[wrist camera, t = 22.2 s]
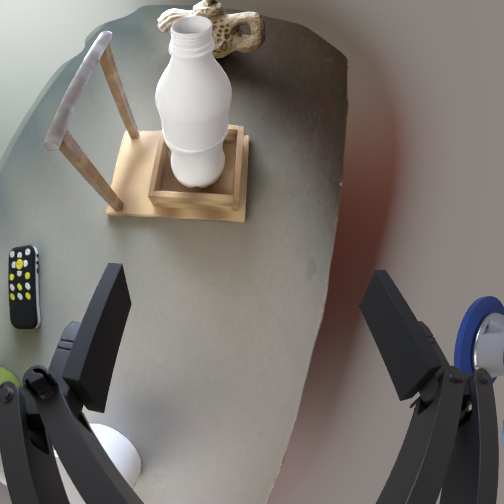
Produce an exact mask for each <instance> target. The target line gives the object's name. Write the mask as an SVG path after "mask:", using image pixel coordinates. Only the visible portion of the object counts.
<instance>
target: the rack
mask: <svg viewBox="0 0 504 504" xmlns="http://www.w3.org/2000/svg"><path fill="white" fill-rule="evenodd" d="M112 37H113V35H112V33H111V32H109V31H104V32H102V33H101V34H100V35H99V37H98V38H97V40H96V41H95V43H94V44H93V46H92V47H91V49H90V50H89V52H88V54H87V55H86V57H85V59H84V60H83V62H82V64H81V65H80V67H79V69H78V71H77V72H76V74H75V76H74V78H73V80H72V82H71V84H70V86H69V87H68V89H67V91H66V93H65V95H64V97H63V100H62V102H61V104H60V106H59V108H58V110H57V112H56V115H55V117H54V119H53V122H52V124H51V126H50V129H49V131H48V134H47V136H46V139H45V142H44V148H45V149H47V150H49V151H58V150H60V151H61V152H62V153H63V155H64V156H65V157H66V158H67V159H68V160H69V161H70V163H71V164H72V165H73V166H74V167H75V168H76V169H77V171H78V172H79V173H80V174H81V175H82V176H83V177H84V178H85V179H86V181H87V182H88V183H89V184H90V185H91V186H92V187H93V188H94V189H95V190H96V191H97V192H98V194H99V195H100V196H101V197H102V198H103V199H104V200H105V201H106V202H107V203H108V205H107V210H106V214H107V215H114V216H139V217H160V218H179V219H196V220H213V221H228V222H242V223H244V222H245V212H246V191H247V171H248V152H249V136H248V135H244V126H235V125H228V133H227V135H226V137H225V138H224V141H223V152H224V155H225V163H224V169H223V171H222V173H221V176H220V177H219V179H218V180H217V181H216V182H215V183H214V184H212V185H211V186H209V187H207V188H200V187H198V186H196V187H194V188H188V187H186V186H184V185H183V184H181V183H180V182H179V181H178V180H177V178H176V177H175V175H174V173H173V171H172V167H171V154H172V152H171V149H170V148H169V147H168V146H167V144H166V143H165V140H164V136H163V132H162V128H161V131H138V129H137V126H136V123H135V120H134V118H133V115H132V112H131V109H130V106H129V104H128V101H127V98H126V95H125V92H124V89H123V86H122V83H121V80H120V77H119V74H118V71H117V68H116V65H115V61H114V58H113V55H112V52H111V48H110V45H109V43H110V41H111V39H112ZM98 61H100V63H101V66H102V69H103V72H104V74H105V77H106V80H107V82H108V85H109V87H110V90H111V92H112V95H113V97H114V100H115V102H116V105H117V107H118V110H119V112H120V115H121V117H122V120H123V122H124V124H125V127H126V129H127V131H126V132H125V134H124V137H123V141H122V144H121V148H120V152H119V155H118V159H117V163H116V167H115V172H114V176H113V180H112V185H111V187H110V186H109V185H108V183H107V182H106V181H105V180H104V178H103V177H102V176H101V175H100V173H99V172H98V171H97V169H96V168H95V167H94V165H93V164H92V163H91V162H90V160H89V159H88V158H87V156H86V155H85V154H84V152H83V151H82V149H81V148H80V147H79V145H78V144H77V143H76V141H75V140H74V139H73V137H72V136H71V134H70V133H69V132H68V130H67V128H68V125H69V122H70V120H71V118H72V115H73V113H74V110H75V108H76V106H77V104H78V101H79V99H80V97H81V95H82V93H83V91H84V88H85V86H86V84H87V82H88V80H89V78H90V76H91V74H92V73H93V71H94V69H95V67H96V65H97V63H98ZM162 127H163V126H162Z"/></svg>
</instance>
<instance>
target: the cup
mask: <svg viewBox="0 0 504 504" xmlns="http://www.w3.org/2000/svg"><path fill="white" fill-rule="evenodd" d="M89 425H90V426H91V428H92V430H93V432H94V433H95V435H96V437H97V438H98V440H99V442H100V443H101V445H102V447H103V448H104V450H105V451H106V453H107V454H108V456H109V457H110V459H111V460H112V462H113V463H114V465H115V466H116V468H117V469H118V471H119V472H120V473H121V475H122V476H123V478H124V479H125V480H126V482H127V483H128V484H129V486H130V487H131V488H132V489H133V488H134V486H135V484H136V481H137V479H138V477H139V474H140V471H141V459H140V456H139V454H138V452H137V450H136V449H135V447H134V446H133V444H132V443H131V442H130V441H129V440H128V439H127V438H126V437H124V436H123V435H122V434H121V433H119V432H117V431H116V430H114V429H112V428H110V427H107V426H104V425H100V424H89ZM54 454H55V458H56V462H57V465H58V469H59V472H60V476H61V479H62V482H63V485H64V488H65V491H66V494H67V497H68V499H69V502H70V504H86V503H85V502H84V500H83V499H82V497H81V496H80V494H79V492H78V491H77V489H76V488H75V486H74V484H73V483H72V481H71V479H70V477H69V476H68V474H67V472H66V470H65V468H64V467H63V465H62V463H61V461H60V459H59V457H58V455H57V453H56V451H55V450H54Z"/></svg>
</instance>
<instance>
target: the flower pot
mask: <svg viewBox="0 0 504 504" xmlns="http://www.w3.org/2000/svg"><path fill="white" fill-rule="evenodd" d="M5 381H11V382H13V383H14V384H15V385H16V386H17V387H18V388H19V387H21V385H20V383H19V381H18V379H17V378H16V377H15V375H14V374H13V373H12V372H11V371H9V370H7V369H5V368H2V367H0V384H1V383H3V382H5Z"/></svg>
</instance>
